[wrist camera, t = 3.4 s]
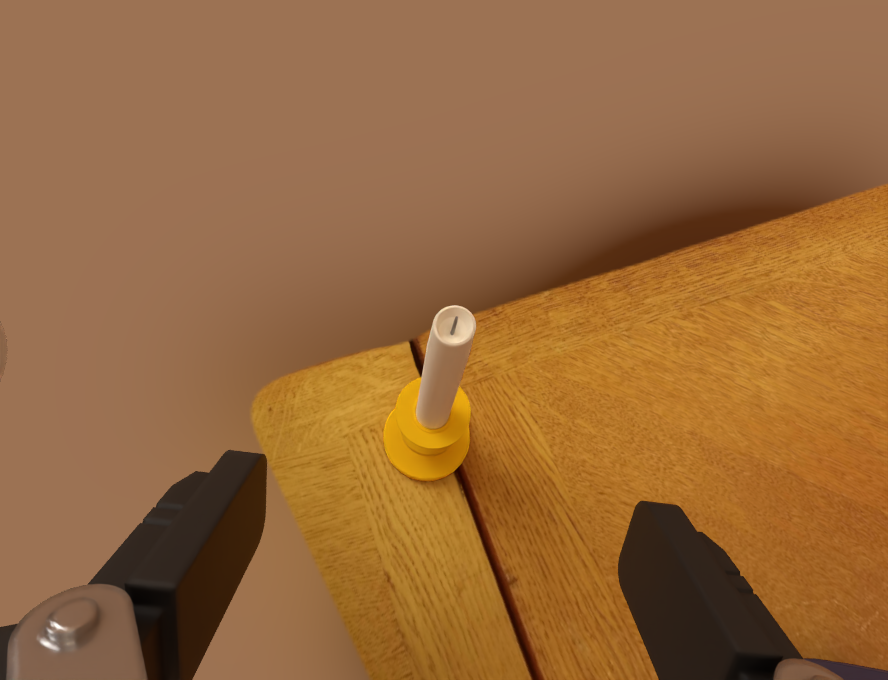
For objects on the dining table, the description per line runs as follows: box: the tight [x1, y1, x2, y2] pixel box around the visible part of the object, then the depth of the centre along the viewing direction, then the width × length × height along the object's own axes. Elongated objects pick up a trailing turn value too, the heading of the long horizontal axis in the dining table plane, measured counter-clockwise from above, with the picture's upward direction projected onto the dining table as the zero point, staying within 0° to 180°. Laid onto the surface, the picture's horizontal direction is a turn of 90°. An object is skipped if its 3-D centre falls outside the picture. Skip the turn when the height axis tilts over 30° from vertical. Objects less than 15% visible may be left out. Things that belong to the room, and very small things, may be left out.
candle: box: [383, 306, 476, 481], centre depth 23 cm, size 5×5×16 cm
